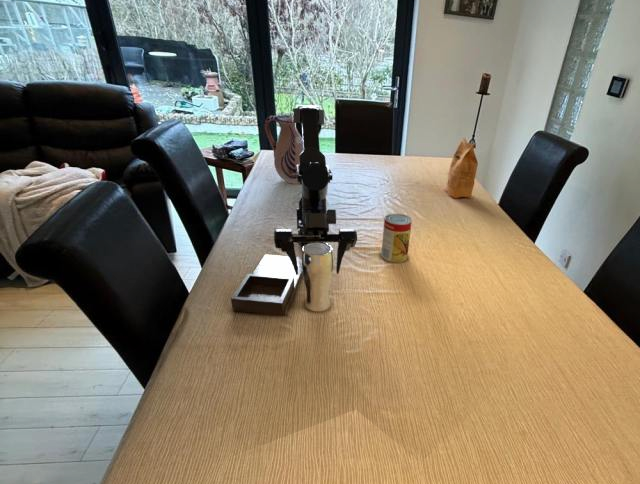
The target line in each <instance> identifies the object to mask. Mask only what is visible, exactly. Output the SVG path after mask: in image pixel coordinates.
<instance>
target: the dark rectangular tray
mask: <svg viewBox="0 0 640 484" xmlns="http://www.w3.org/2000/svg"><path fill="white" fill-rule="evenodd" d="M296 260H297V265H298V275H296V273H295V270H294V268H293V265H292V262H291V260H290V258H289V257H288V255H287V256H286V255H277V254H264V255H263V256H262V258H261V260H260V261H259V263H258V264H257V266H256V267H255V269H254V271H253V272H252V273H247V274H246V275H245V276H244V278H243V279H242V281H241V282H240V284H239V285H238V287H237V289H236V290H235V292H233V294H232V295H231V298H230V304H231V308H232V311H233V312H240V313H241V312H243V313H251V314H252V313H255V314H264V315H277V316H286V315H287V313H288V310H289V309H290V306H291V304H292V301H293V298H294V296H295V294H296V291H297V290H298V287H299V284H300V282H301V279H302V278H303V272H302V257H299V256H296Z"/></svg>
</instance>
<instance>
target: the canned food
mask: <svg viewBox="0 0 640 484" xmlns="http://www.w3.org/2000/svg"><path fill="white" fill-rule="evenodd" d="M412 222H413V219H412V218H411V217H410V216H408V215H407V214H403V213H388V214H386V215H384V219H383V231H382V242H381V252H380V253H381V255H380V256H381V258H382V259H383V260H385V261H387V262H390V263H402V262H405V261H406V260H407V259H408V255H409V246H410V239H411V231H412Z"/></svg>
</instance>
